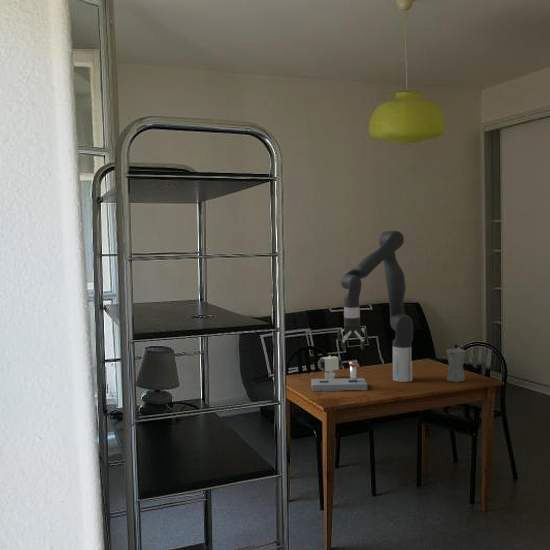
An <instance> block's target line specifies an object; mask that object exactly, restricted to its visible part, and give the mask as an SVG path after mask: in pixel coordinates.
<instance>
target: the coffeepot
mask: <svg viewBox="0 0 550 550" xmlns="http://www.w3.org/2000/svg"><path fill="white" fill-rule="evenodd" d="M453 346H454V347H453V348H449V349H448V348H447V349H446V354H447V356H446V357H447V363H448V369H447V374H446V380H447V382H450V381H464V380H465V381H466V377H465V371H464V363H465V356H466V350H465V349H463V348H462V347H461V346H459V347H458V344H454V345H453ZM465 381H464V382H465Z"/></svg>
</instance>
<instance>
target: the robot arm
mask: <svg viewBox="0 0 550 550" xmlns="http://www.w3.org/2000/svg"><path fill="white" fill-rule="evenodd" d="M404 238H405V237H404V234H403V233H402V232H401V231H398V230H387V231H386V230H385V231H383V232H382V233H381V234H380V236H379V239H378V240H379V248H378V249H376V250H374V251H373V252H371V253H370V254H369V255H367V256H365V257H364V258H363V259H362V260H361V261H360V262H359V263H358V264H357V265H356V266H355V267H354V268H352V269H351V270H349V271H347V272H346V273H345V274H344V275H343V276H342V278H341V281H340V285H341V287H342V288H343V289H345V290H348V294H346V295H344V297H343V298H344V299H343V304H344V307H343V309H344V310H343V320H344V321H343V322H344V323H343V324H344V328H340V327H339V328H337V342H339V343H340V342H341V350H343V351H346V340H347V339H348V338H351V339H352V338H357V337H358V339H359V340H360V349H361V350H364V349H365V342H366V341H369V338H368V337H369V336H368V328H367V327H366V326H364V327H362V328H361V312H360V295H361V291H362V279H364V278H367V277H368V276H369V275H370V274H371V273H372V272H373V270H375V269H376V268H377V267H378V266H379V265H380V264H381V263H383V267H384V272H385V273H384V274H385V275H384V276H385V283H386V289H387V297H388V303H389V323H390V327H391V329H392V330H393V331H394V332H395V337H394V339H393V340H392V380H393V381H394V382H397V383H398V382H399V383H407V382H408V383H409V382H413V361H412V342H413V341H414V340H413V338H414V323H413V319H412V318H411V317H410V316H409V315H406V312H405V308H404V300H405V294H406V289H407V288H406V280H405V279H406V278H405V277H406V276H405V274H404V271H403V269H402V267H401V266H400V264H399V262H398V260H397V257H396V251H398V250H399V249H400V248H401V247H402V246H403V245H404V242H405V239H404ZM343 332H344V336H343V337H342V334H343ZM361 332H362V333H363V334H364V335H363V336H364V337H362V336H361V334H360V333H361ZM341 337H342V338H341Z"/></svg>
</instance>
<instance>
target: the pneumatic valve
mask: <svg viewBox="0 0 550 550" xmlns="http://www.w3.org/2000/svg"><path fill="white" fill-rule="evenodd" d="M317 366H318V367H317V368H318V369H320V370H321V371H323V372H324V379H336V378H335V377H336V372H335V371H339V370H340V369H341V367H342V366H343V361H342V358H340V357H338V356H336V355H334V356H331V355H328V356H323V357H321V356H320V357H319V359H318V361H317Z"/></svg>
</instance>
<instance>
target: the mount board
mask: <svg viewBox="0 0 550 550" xmlns="http://www.w3.org/2000/svg"><path fill="white" fill-rule="evenodd" d="M310 382H311V383H310V384H311V390H312V392H343V391H344V390H361V391H368V383H367V381H366V379H365V377H362V378H361V377H358V378H357V377H356V382H350V377H349V378H345V377H344V378H334V379H327V378H310ZM320 390H322V391H320ZM342 390H343V391H342ZM344 392H345V391H344Z"/></svg>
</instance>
